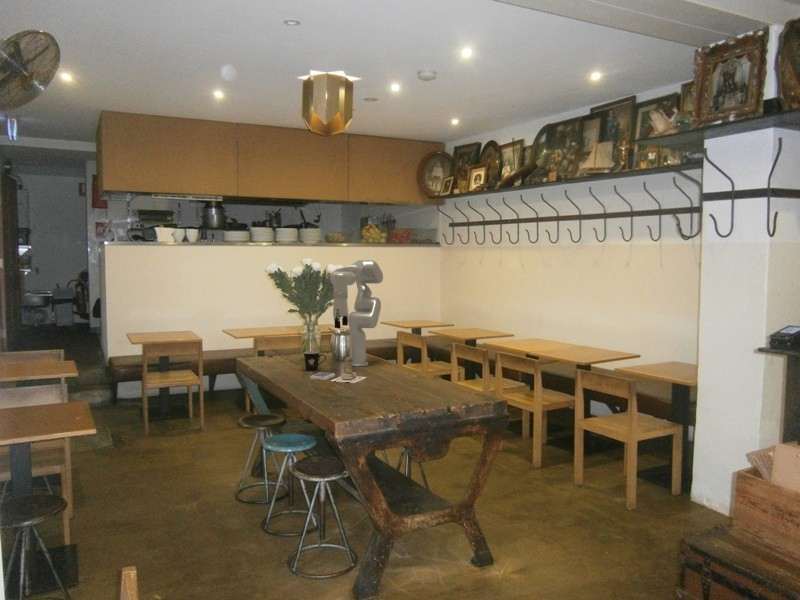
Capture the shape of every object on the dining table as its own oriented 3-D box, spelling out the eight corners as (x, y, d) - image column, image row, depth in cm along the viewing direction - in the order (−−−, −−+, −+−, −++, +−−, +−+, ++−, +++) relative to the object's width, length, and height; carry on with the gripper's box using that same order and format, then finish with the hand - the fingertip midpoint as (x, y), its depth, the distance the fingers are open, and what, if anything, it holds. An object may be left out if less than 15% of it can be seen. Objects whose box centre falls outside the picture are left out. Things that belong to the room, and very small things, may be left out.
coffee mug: (301, 370, 348) (301, 353, 347) (308, 368, 356) (308, 350, 355) (320, 372, 344) (319, 354, 344) (326, 369, 352) (326, 352, 352)
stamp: (346, 377, 329) (346, 355, 328) (356, 378, 328) (355, 356, 327) (341, 379, 323) (341, 357, 323) (350, 380, 322) (350, 357, 321)
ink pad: (320, 374, 337) (320, 372, 337) (335, 376, 334) (335, 373, 334) (310, 378, 327) (310, 375, 327) (325, 380, 324) (325, 377, 324)
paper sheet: (343, 375, 335) (343, 375, 335) (366, 377, 330) (366, 376, 330) (330, 381, 321) (330, 380, 321) (354, 383, 316) (354, 382, 316)
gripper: (341, 293, 346) (341, 324, 348) (327, 297, 330) (328, 329, 332) (353, 294, 344) (353, 324, 346) (340, 297, 328) (341, 329, 330)
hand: (341, 326), depth 339 cm, fingers open, 9 cm apart
